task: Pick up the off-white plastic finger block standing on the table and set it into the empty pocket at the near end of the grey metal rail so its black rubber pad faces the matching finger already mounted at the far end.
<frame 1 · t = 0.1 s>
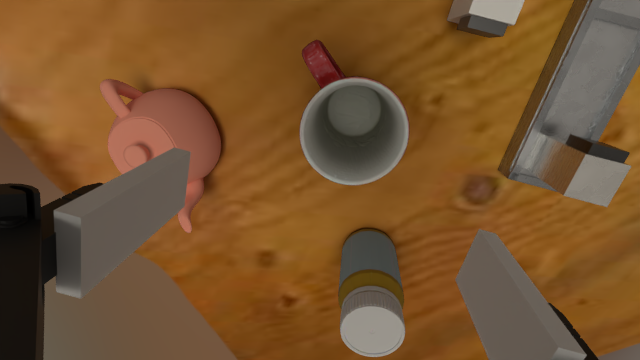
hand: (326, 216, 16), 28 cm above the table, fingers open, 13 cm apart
teapot: (182, 141, 46), on the table
rail: (576, 75, 38), on the table
mug: (348, 94, 41), on the table
finger: (472, 4, 37), on the table
bottle: (368, 248, 48), on the table
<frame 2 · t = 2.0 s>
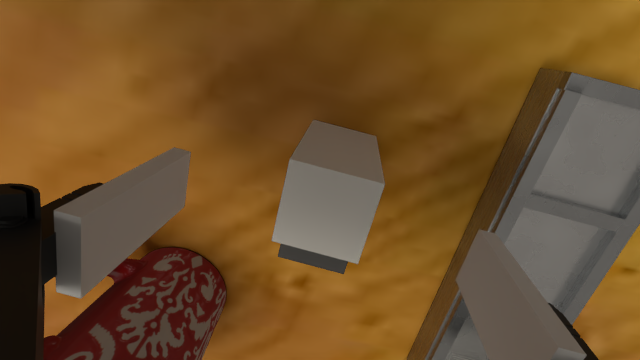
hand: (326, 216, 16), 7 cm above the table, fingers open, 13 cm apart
rail: (507, 262, 24), on the table
mug: (171, 267, 27), on the table
finger: (336, 157, 23), on the table
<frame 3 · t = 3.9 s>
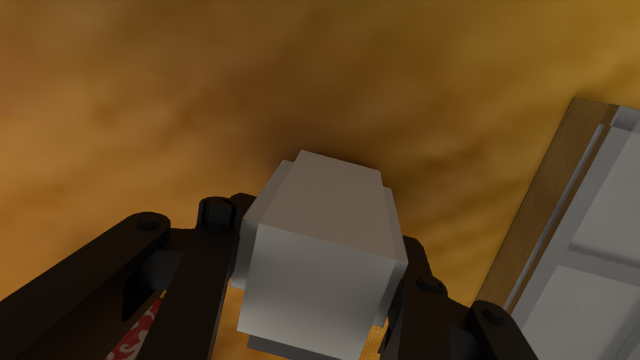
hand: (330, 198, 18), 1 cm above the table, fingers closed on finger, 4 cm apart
rail: (533, 319, 20), on the table
mug: (142, 318, 24), on the table
finger: (330, 196, 18), point 1 cm above the table, touching gripper
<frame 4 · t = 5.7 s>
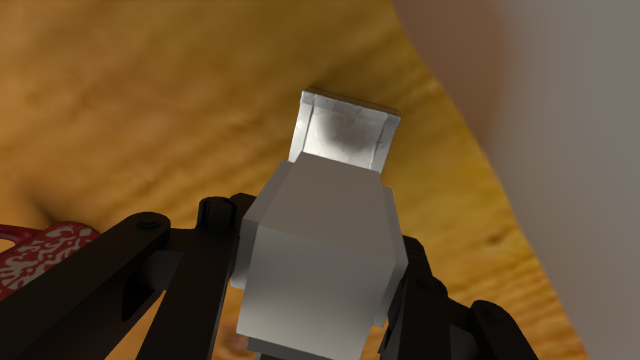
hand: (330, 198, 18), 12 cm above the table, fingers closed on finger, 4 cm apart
rail: (316, 231, 32), on the table
mug: (71, 238, 35), on the table
finger: (330, 197, 18), point 11 cm above the table, touching gripper
when the fingers open (4 cm above the table, at t = 7.2 s): finger stays where it is, resting on rail.
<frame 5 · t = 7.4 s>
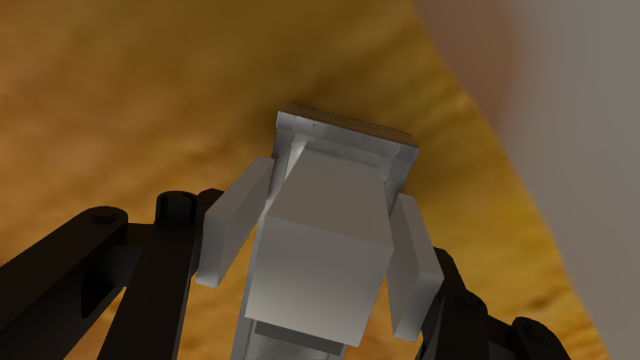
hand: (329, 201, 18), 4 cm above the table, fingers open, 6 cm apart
rail: (303, 288, 24), on the table
finger: (332, 192, 19), point 2 cm above the table, touching rail
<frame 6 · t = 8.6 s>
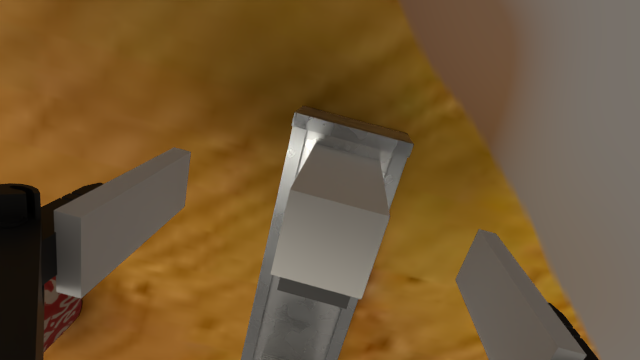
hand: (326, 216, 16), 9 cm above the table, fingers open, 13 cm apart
rail: (312, 271, 27), on the table
mug: (33, 274, 31), on the table
finger: (339, 182, 22), point 2 cm above the table, touching rail
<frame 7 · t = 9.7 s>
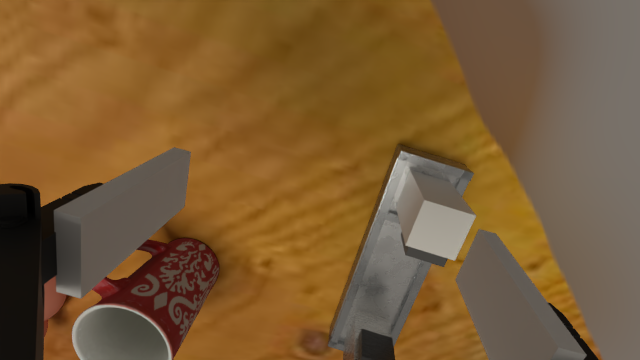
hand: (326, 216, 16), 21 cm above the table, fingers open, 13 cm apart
teapot: (35, 278, 47), on the table
rail: (390, 253, 40), on the table
mug: (184, 251, 43), on the table
finger: (422, 194, 35), point 2 cm above the table, touching rail
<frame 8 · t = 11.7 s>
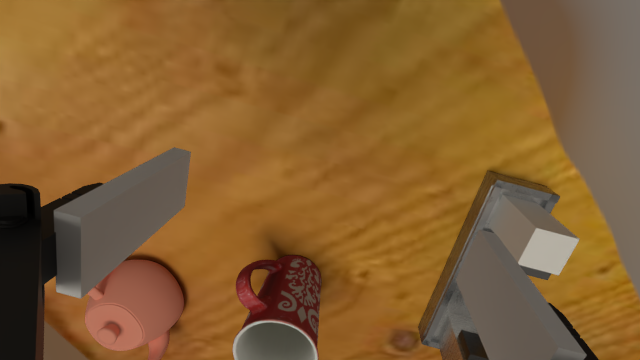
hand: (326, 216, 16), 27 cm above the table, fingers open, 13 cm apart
teapot: (152, 292, 53), on the table
rail: (476, 263, 46), on the table
mug: (290, 266, 49), on the table
finger: (512, 214, 40), point 2 cm above the table, touching rail
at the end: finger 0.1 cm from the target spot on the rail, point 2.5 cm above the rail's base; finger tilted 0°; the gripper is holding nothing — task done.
